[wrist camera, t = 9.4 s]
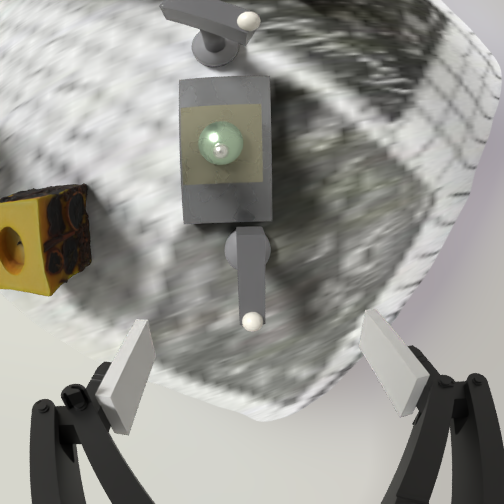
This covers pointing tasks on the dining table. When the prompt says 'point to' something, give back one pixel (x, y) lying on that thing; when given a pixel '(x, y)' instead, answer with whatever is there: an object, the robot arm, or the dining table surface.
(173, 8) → the knob
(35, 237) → the candle
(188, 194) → the level base
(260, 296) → the knob
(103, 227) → the dining table surface
